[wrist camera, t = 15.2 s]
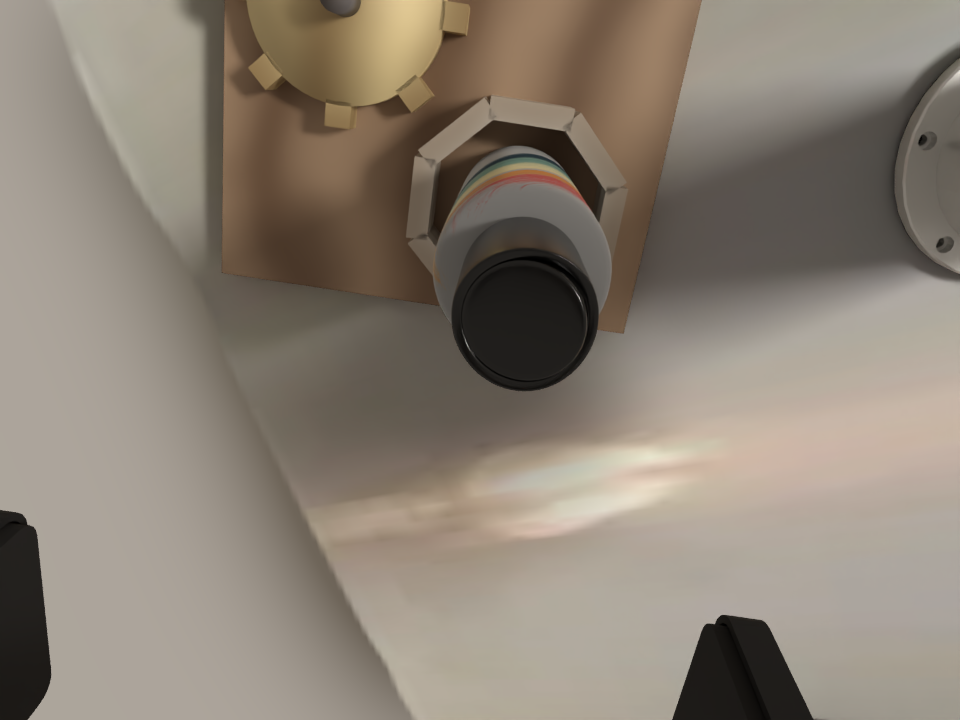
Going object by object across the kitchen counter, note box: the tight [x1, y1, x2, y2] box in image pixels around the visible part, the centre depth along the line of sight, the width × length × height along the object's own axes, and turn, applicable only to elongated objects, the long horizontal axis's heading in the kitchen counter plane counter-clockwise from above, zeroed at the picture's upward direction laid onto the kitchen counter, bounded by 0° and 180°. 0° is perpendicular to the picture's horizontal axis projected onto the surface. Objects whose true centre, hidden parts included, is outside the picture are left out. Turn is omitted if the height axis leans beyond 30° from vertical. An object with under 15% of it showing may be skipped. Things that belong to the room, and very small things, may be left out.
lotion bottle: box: [433, 146, 612, 391], centre depth 27 cm, size 6×6×20 cm
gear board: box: [222, 0, 702, 334], centre depth 34 cm, size 22×20×5 cm
